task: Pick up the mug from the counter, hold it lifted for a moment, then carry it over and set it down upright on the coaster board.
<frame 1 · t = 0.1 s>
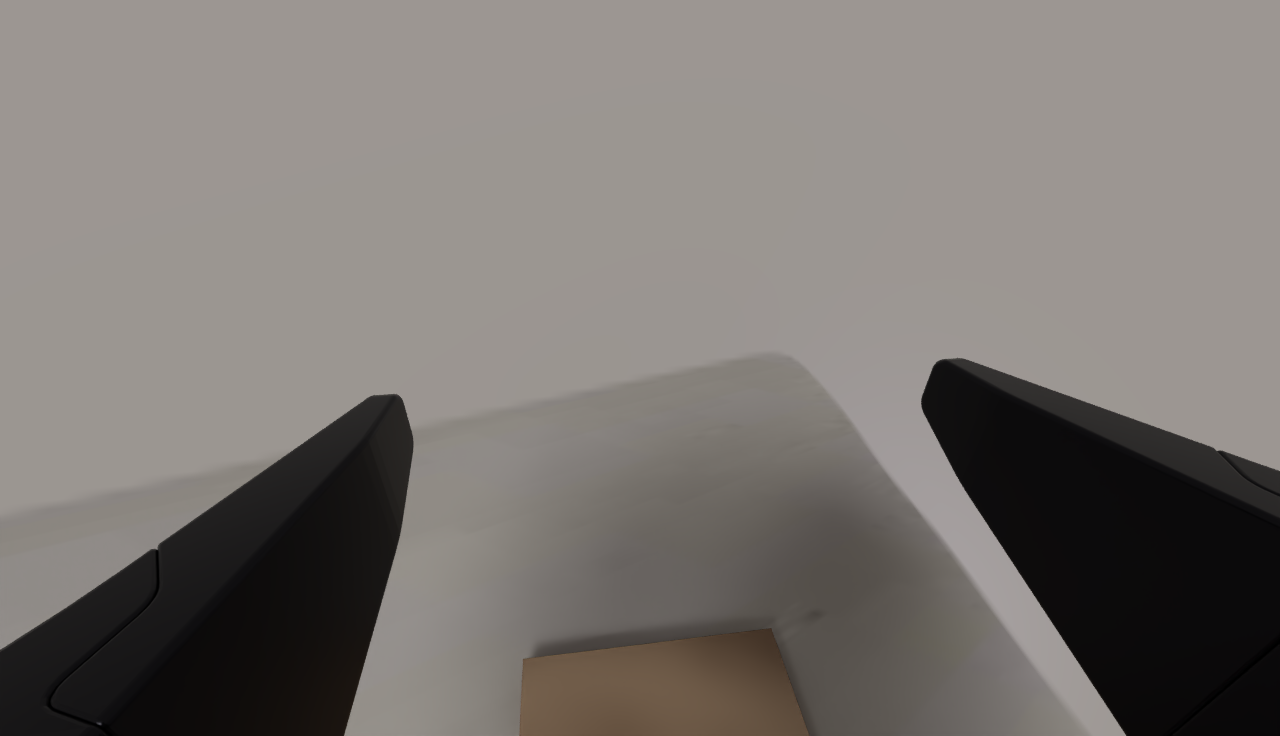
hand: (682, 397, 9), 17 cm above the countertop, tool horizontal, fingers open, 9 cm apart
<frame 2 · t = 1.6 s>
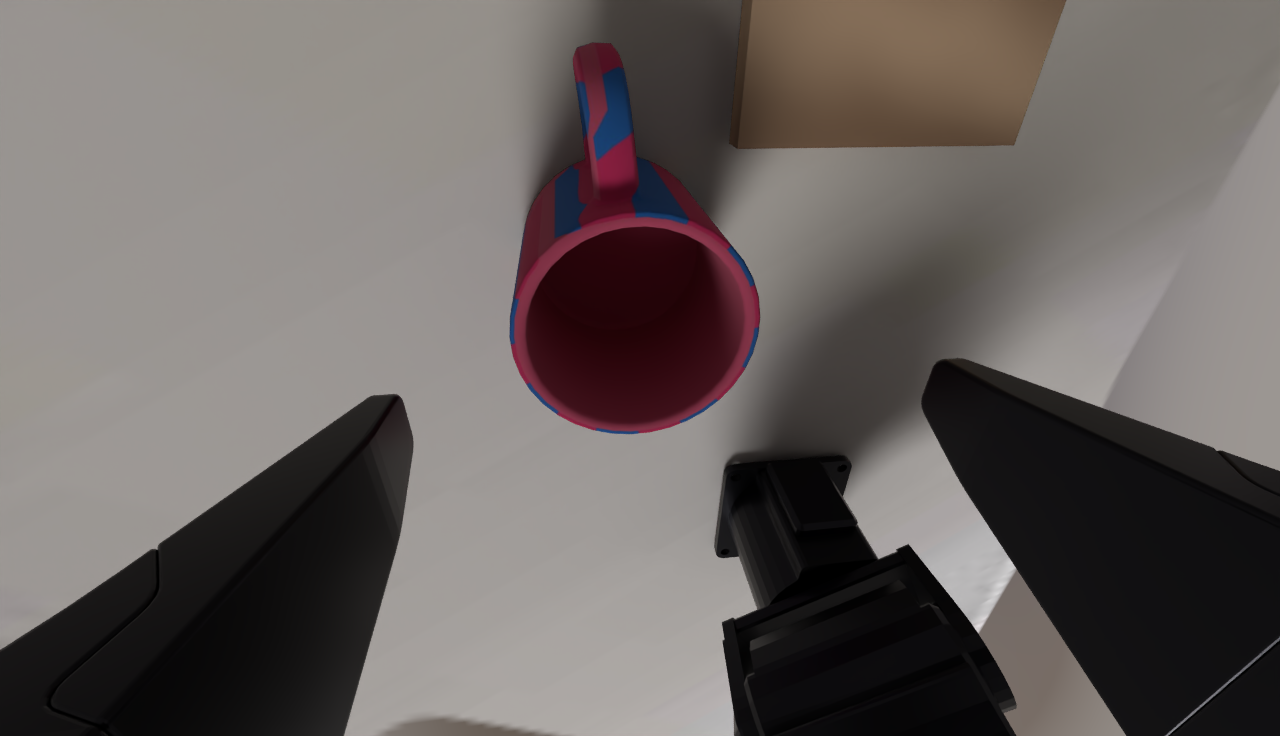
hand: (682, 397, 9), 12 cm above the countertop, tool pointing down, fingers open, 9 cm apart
mug: (613, 202, 19), on the countertop
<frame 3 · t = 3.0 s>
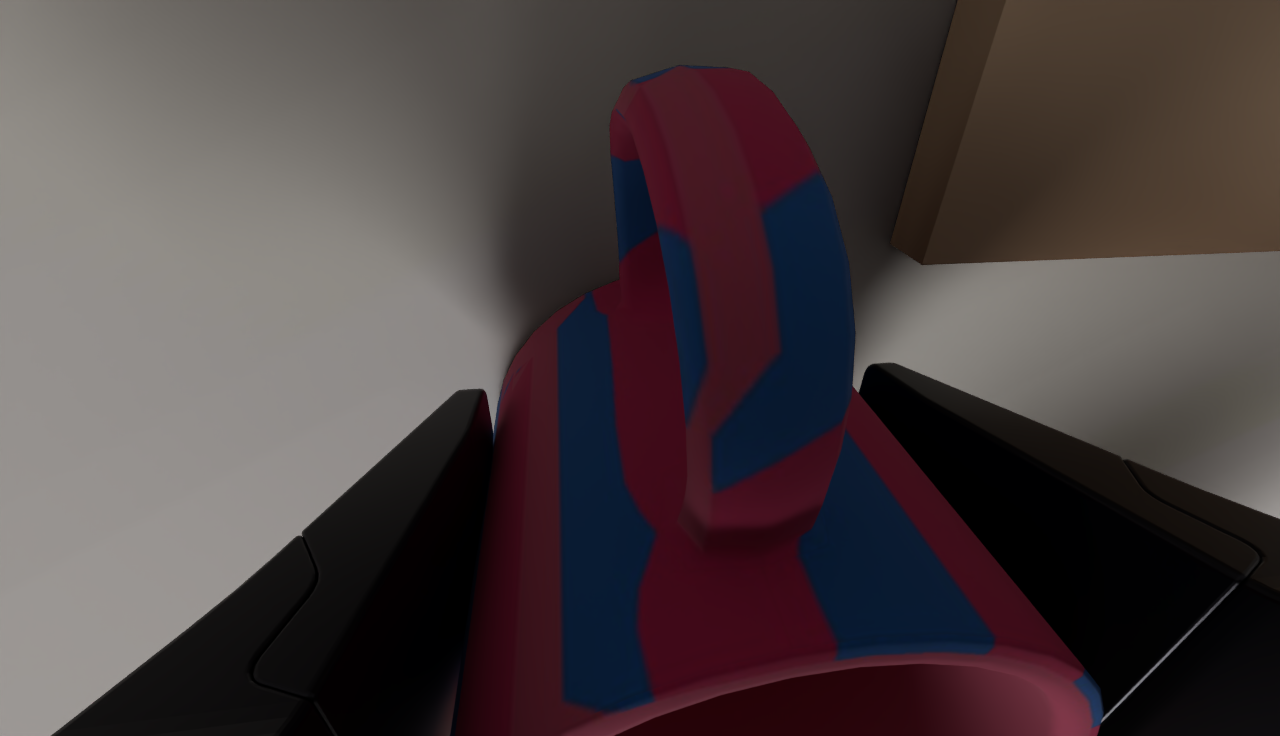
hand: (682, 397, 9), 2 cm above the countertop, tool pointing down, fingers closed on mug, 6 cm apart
mug: (664, 346, 10), on the countertop, touching gripper
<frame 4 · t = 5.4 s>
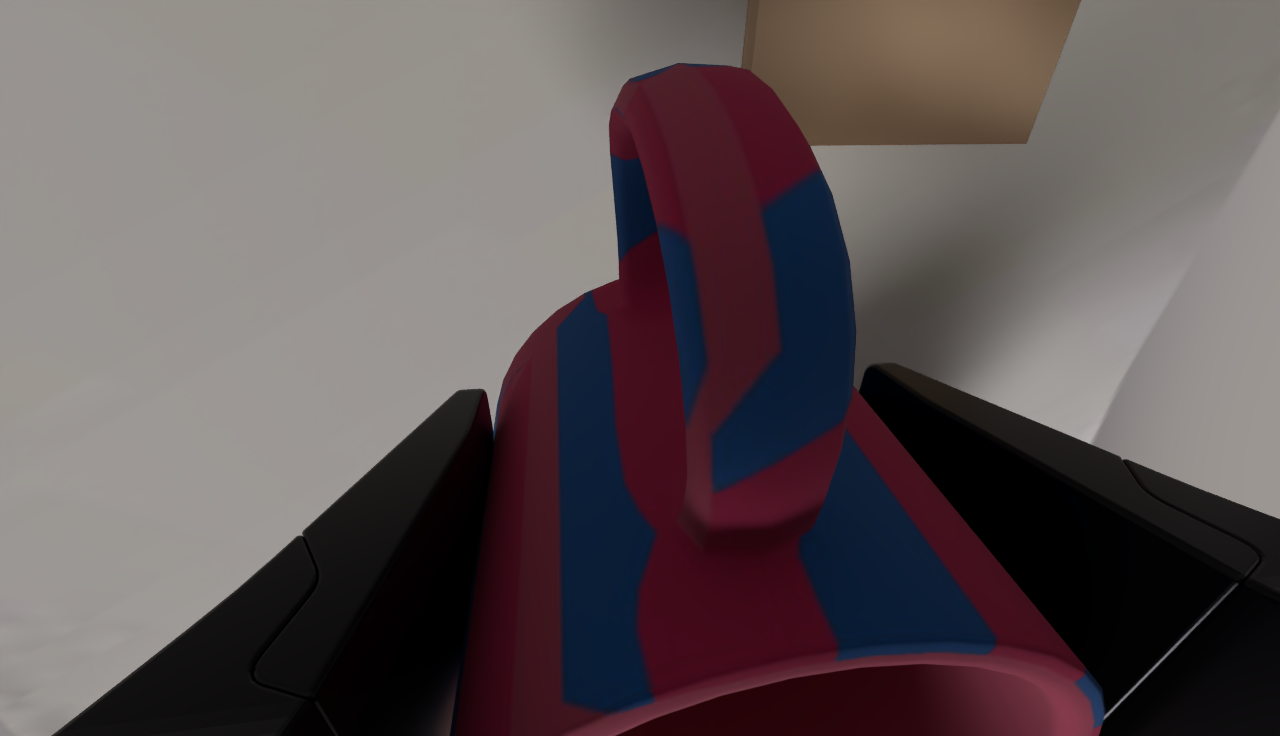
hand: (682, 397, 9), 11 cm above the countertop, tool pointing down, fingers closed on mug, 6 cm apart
mug: (664, 345, 10), point 10 cm above the countertop, touching gripper
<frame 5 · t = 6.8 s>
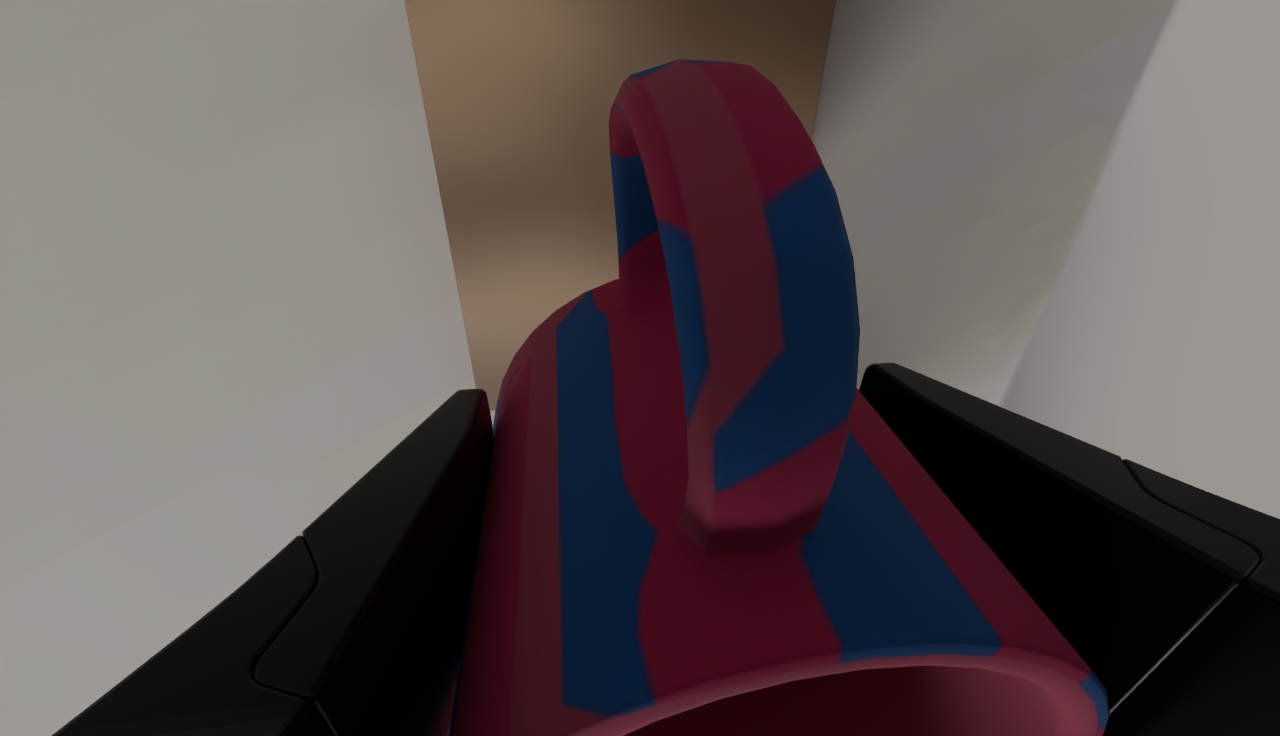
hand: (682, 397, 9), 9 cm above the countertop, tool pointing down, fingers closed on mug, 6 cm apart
mug: (664, 345, 10), point 7 cm above the countertop, touching gripper
coaster board: (624, 221, 16), on the countertop
when the fingers open (3 cm above the countertop, at t = 8.1 s): mug stays where it is, resting on coaster board.
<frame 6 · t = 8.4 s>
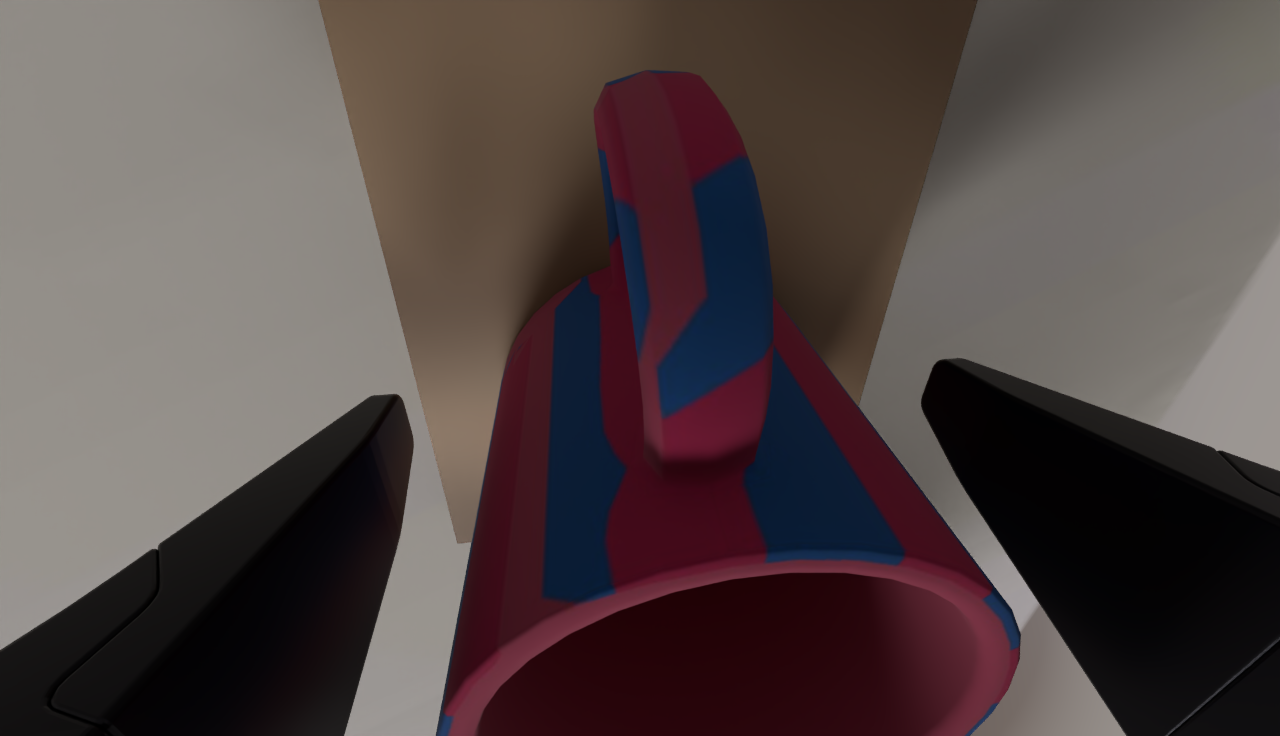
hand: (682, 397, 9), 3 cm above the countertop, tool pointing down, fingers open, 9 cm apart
mug: (656, 328, 11), point 1 cm above the countertop, touching coaster board
coaster board: (651, 304, 12), on the countertop
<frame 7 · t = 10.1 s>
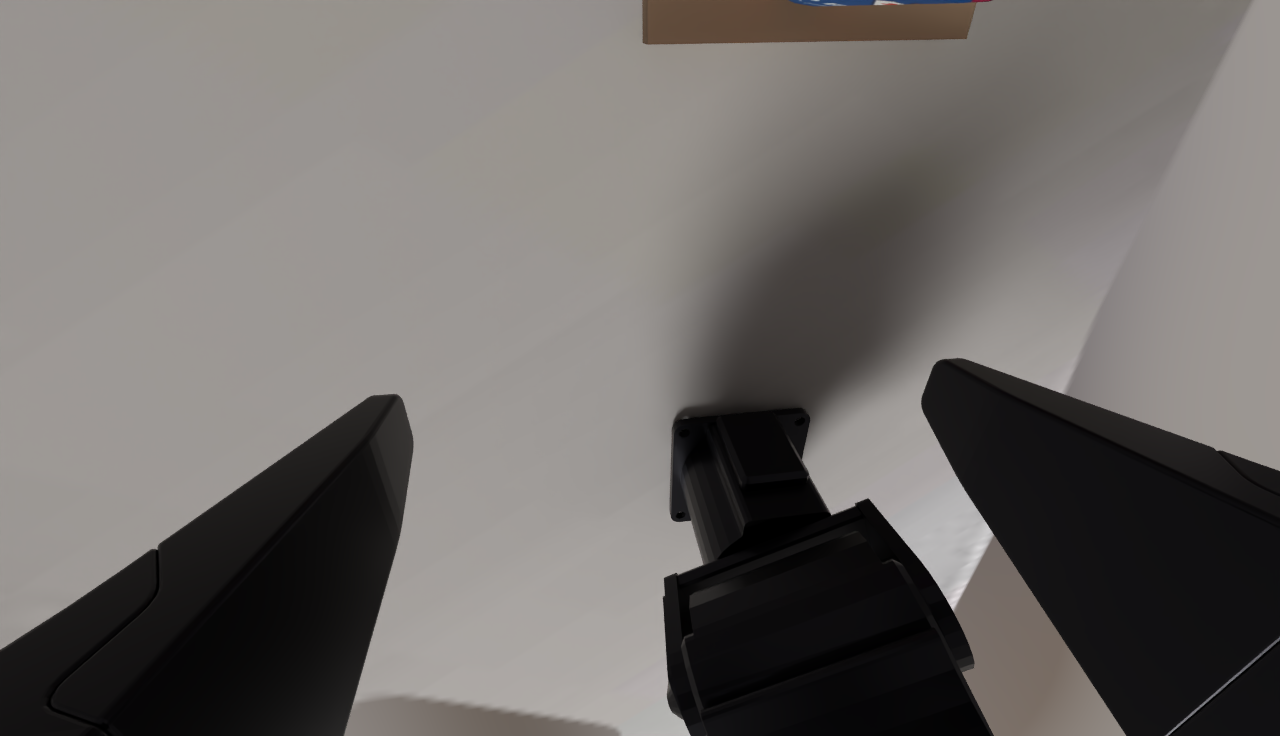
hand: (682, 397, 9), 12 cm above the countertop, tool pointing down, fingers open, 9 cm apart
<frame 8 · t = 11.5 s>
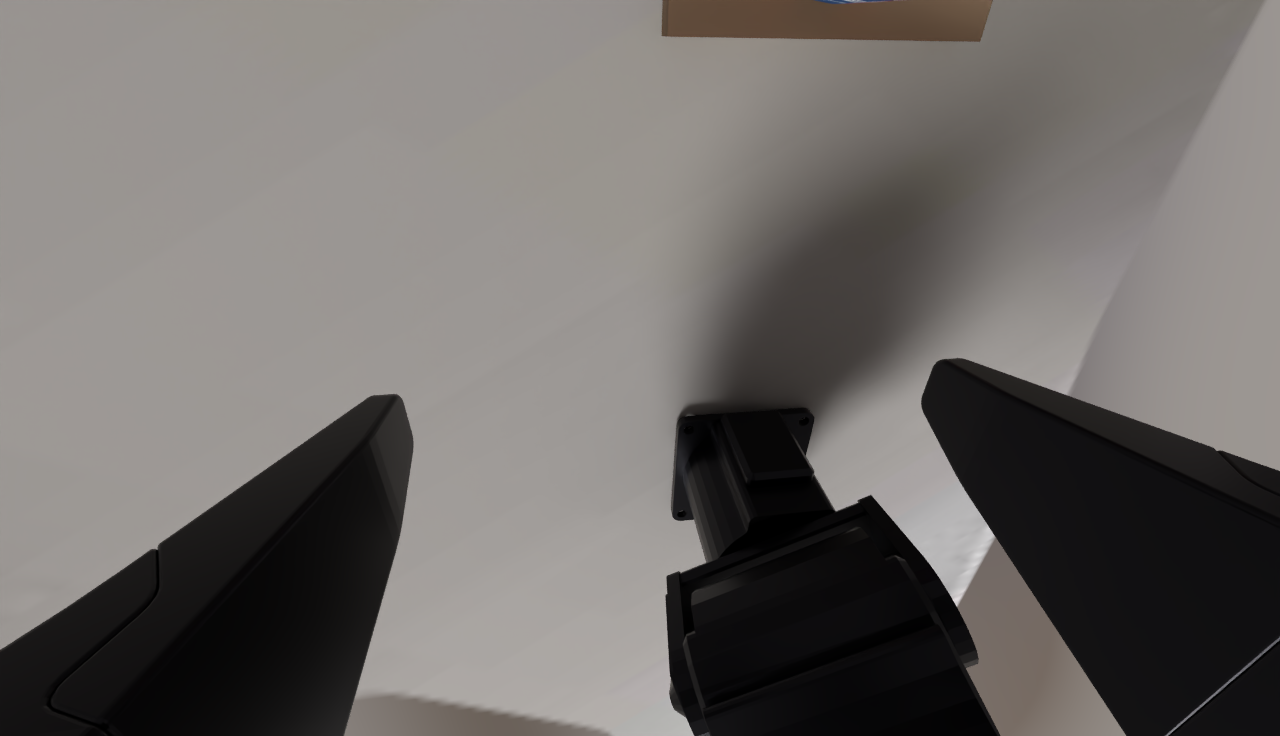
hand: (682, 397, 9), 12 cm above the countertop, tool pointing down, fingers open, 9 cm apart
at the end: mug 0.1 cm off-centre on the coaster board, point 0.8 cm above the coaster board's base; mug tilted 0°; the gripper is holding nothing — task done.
